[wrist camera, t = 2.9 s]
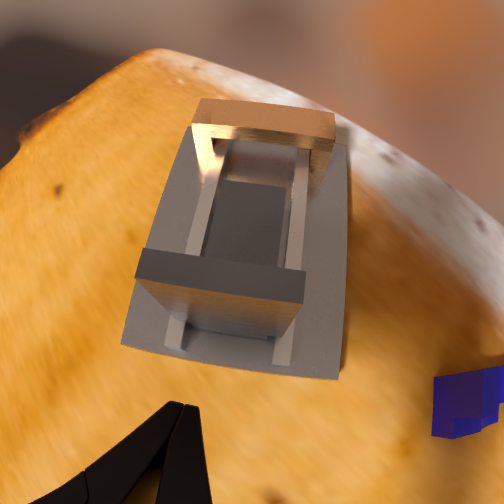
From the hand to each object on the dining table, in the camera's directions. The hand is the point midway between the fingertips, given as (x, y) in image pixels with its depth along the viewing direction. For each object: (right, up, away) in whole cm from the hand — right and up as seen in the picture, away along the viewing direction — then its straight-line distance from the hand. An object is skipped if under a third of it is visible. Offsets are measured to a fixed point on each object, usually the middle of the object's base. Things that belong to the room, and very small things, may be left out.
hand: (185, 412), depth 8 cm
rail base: (+2, +6, +16) cm, 17 cm away
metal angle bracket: (+1, +4, +13) cm, 14 cm away
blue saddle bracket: (+21, -7, +10) cm, 24 cm away
